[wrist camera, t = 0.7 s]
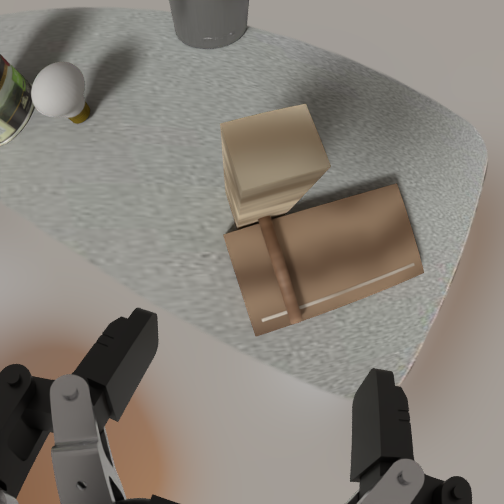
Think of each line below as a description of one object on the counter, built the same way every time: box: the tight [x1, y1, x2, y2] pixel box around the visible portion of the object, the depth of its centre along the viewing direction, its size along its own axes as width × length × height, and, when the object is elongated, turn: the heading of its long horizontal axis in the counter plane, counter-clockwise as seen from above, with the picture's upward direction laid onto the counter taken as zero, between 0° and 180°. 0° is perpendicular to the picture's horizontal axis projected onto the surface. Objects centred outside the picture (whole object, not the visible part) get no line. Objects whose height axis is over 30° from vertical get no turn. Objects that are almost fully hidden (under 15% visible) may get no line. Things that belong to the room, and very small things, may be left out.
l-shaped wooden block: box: [220, 104, 331, 324], centre depth 24 cm, size 14×5×16 cm, turn 18°
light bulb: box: [31, 62, 90, 124], centre depth 27 cm, size 6×6×10 cm
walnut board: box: [223, 183, 424, 336], centre depth 32 cm, size 10×19×2 cm, turn 108°
